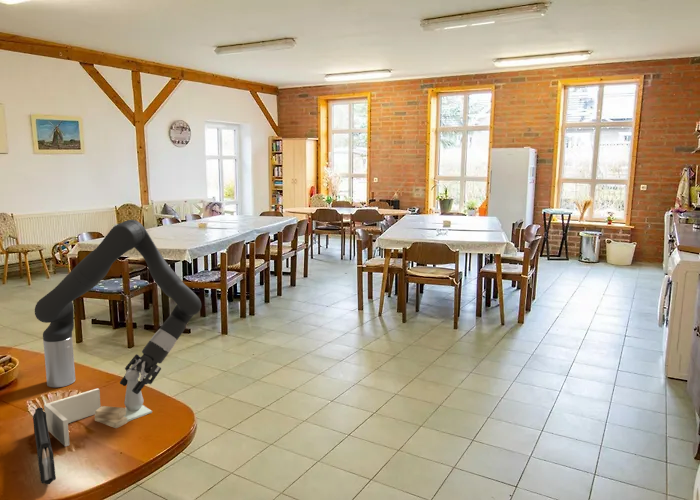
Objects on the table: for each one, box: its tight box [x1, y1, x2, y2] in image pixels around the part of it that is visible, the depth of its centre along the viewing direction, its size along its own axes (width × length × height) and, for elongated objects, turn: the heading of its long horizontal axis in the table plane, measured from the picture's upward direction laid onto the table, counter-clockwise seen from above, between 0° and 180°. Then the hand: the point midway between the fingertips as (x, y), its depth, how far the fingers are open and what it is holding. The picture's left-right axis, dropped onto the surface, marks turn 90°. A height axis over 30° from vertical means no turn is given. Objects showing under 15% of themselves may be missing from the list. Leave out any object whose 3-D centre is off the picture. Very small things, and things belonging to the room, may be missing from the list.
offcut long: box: [94, 414, 128, 429], centre depth 165 cm, size 10×4×2 cm, turn 62°
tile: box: [123, 404, 153, 423], centre depth 170 cm, size 8×8×1 cm
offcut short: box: [94, 405, 126, 420], centre depth 164 cm, size 8×4×2 cm, turn 82°
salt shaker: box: [124, 370, 145, 412], centre depth 171 cm, size 6×6×13 cm
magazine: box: [32, 407, 56, 485], centre depth 142 cm, size 17×3×30 cm
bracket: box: [43, 388, 102, 448], centre depth 160 cm, size 15×16×8 cm
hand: (128, 388), depth 168 cm, fingers open, 8 cm apart
